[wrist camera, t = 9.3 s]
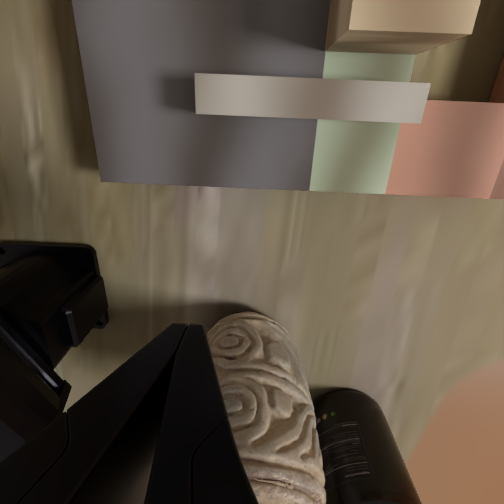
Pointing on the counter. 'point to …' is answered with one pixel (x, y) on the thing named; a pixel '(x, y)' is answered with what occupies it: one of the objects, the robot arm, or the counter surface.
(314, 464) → the carving
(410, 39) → the maple block
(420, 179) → the channel deck
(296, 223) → the counter surface
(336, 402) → the supplement bottle
